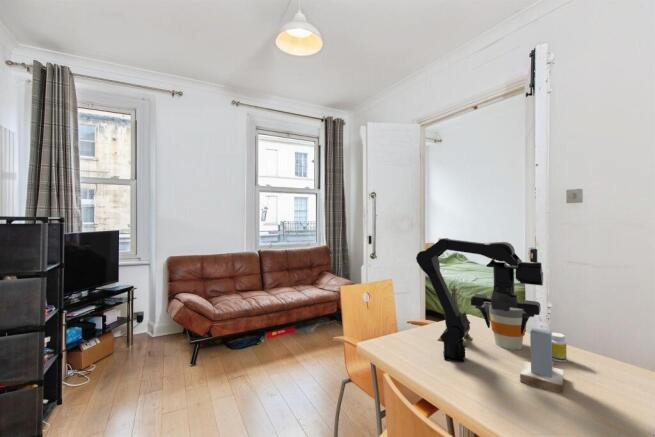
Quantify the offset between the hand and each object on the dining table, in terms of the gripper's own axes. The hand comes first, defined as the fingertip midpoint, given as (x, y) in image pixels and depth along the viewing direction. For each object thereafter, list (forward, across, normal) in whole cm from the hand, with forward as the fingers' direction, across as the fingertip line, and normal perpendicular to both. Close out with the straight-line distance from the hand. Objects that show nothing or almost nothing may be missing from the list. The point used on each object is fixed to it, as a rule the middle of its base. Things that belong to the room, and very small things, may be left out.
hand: (504, 330), depth 97 cm
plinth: (+13, +9, 0) cm, 16 cm away
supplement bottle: (+13, +13, +20) cm, 27 cm away
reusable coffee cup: (+13, -3, +24) cm, 27 cm away
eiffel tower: (+13, -20, +17) cm, 30 cm away
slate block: (+10, +9, 0) cm, 14 cm away
